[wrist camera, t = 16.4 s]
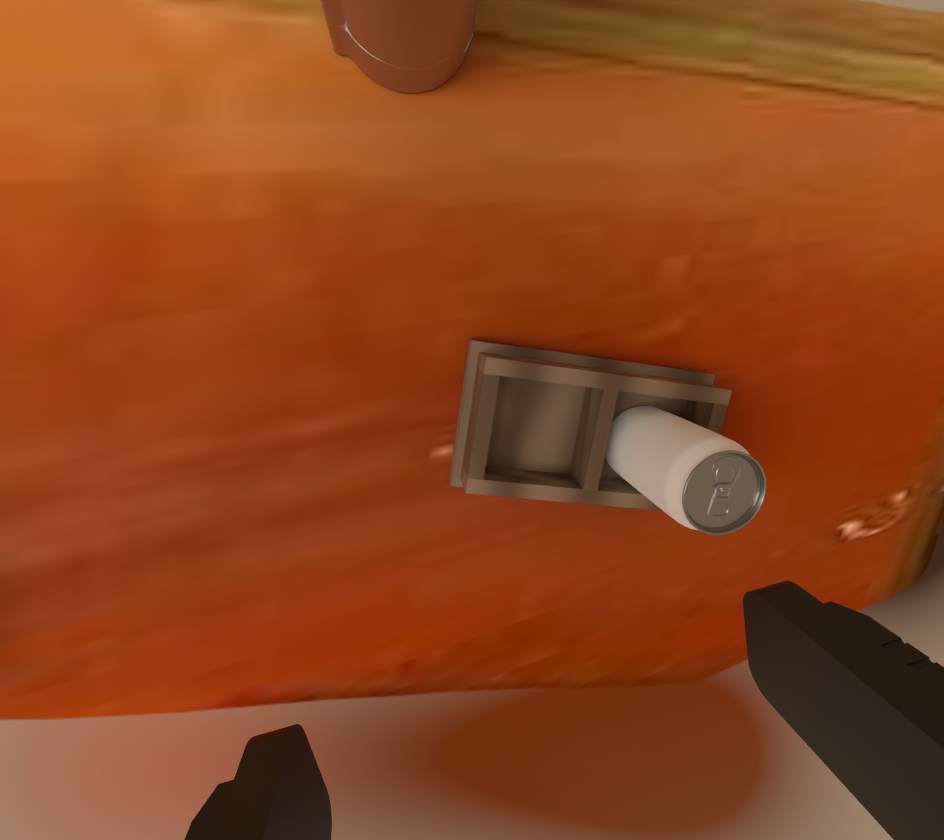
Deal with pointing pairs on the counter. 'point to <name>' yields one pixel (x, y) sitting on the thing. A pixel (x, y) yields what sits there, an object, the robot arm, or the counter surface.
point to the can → (686, 470)
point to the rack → (562, 421)
